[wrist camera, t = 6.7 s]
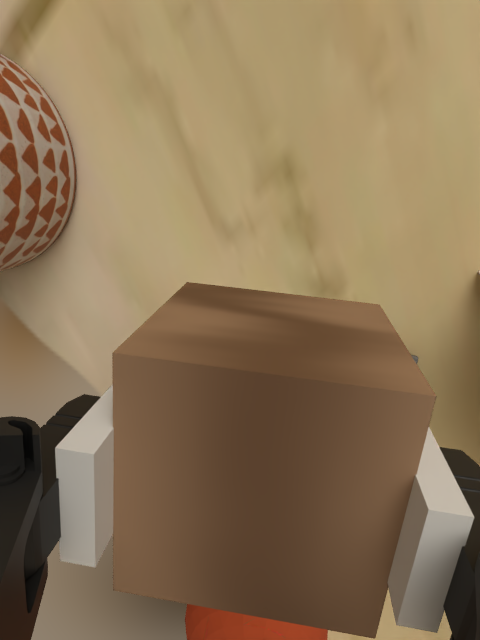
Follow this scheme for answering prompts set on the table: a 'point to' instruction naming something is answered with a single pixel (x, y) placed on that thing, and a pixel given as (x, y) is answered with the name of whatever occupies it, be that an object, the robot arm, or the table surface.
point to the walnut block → (265, 455)
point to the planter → (31, 168)
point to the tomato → (243, 627)
